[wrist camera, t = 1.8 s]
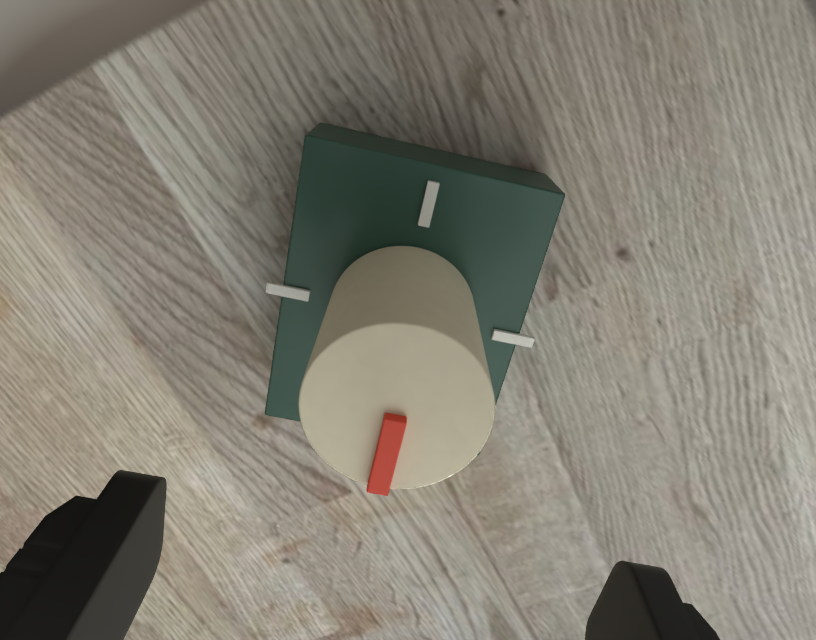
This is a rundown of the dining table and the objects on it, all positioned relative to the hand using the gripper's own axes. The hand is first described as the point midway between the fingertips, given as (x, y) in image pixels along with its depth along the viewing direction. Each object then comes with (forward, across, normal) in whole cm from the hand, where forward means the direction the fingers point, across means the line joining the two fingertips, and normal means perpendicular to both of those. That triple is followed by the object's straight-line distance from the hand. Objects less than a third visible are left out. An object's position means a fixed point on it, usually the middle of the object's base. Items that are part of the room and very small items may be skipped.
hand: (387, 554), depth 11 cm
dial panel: (+13, 0, 0) cm, 13 cm away
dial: (+10, 0, 0) cm, 10 cm away
